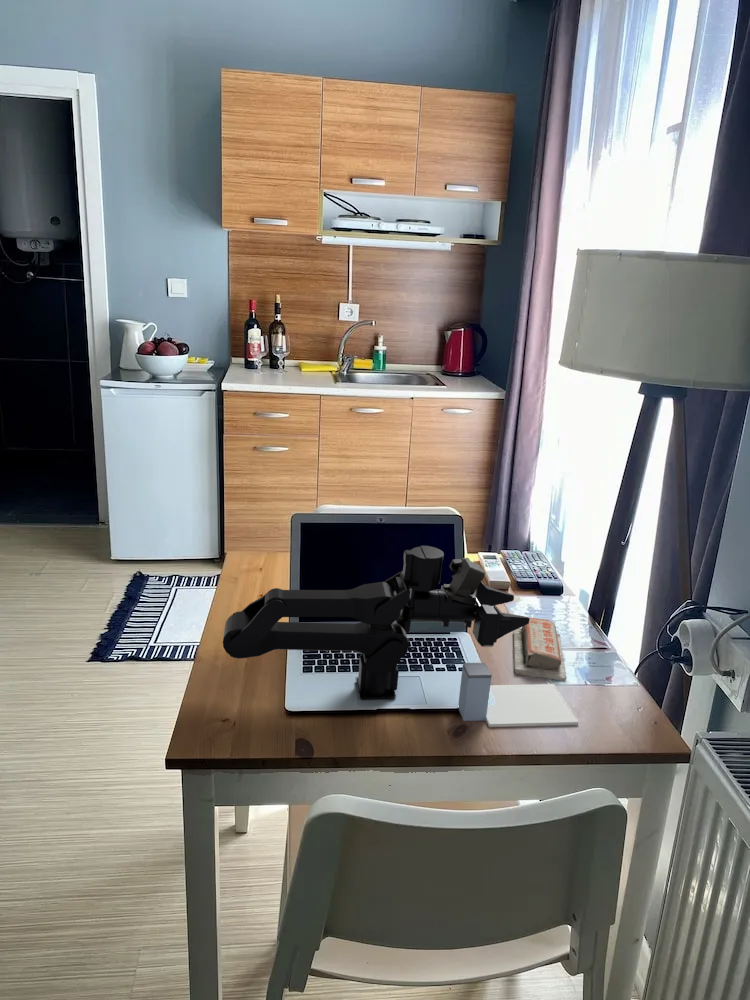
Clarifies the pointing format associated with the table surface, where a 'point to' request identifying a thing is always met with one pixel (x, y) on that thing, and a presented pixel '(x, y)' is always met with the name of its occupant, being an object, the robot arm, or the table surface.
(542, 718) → the mat
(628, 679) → the table surface
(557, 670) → the packaged product
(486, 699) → the block
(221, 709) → the table surface
